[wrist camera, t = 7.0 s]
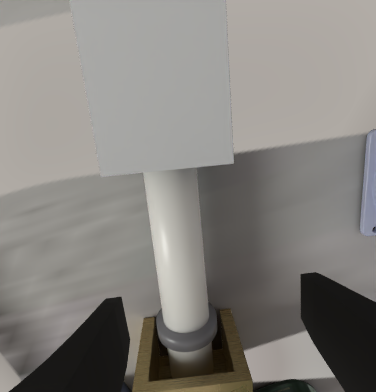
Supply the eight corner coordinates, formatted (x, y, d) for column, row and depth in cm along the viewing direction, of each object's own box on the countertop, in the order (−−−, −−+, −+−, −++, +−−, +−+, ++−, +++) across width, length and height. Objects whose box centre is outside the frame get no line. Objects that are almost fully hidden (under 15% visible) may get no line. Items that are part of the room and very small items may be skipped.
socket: (143, 318, 22) (131, 395, 16) (230, 308, 22) (252, 380, 16) (151, 365, 23) (142, 454, 17) (233, 356, 23) (254, 440, 17)
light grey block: (104, 33, 17) (65, -20, 11) (206, 24, 17) (224, -33, 11) (124, 160, 19) (100, 176, 13) (215, 152, 19) (234, 163, 13)
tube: (132, 119, 17) (119, 116, 13) (197, 113, 17) (204, 109, 13) (164, 347, 22) (162, 398, 18) (215, 341, 22) (225, 390, 18)
